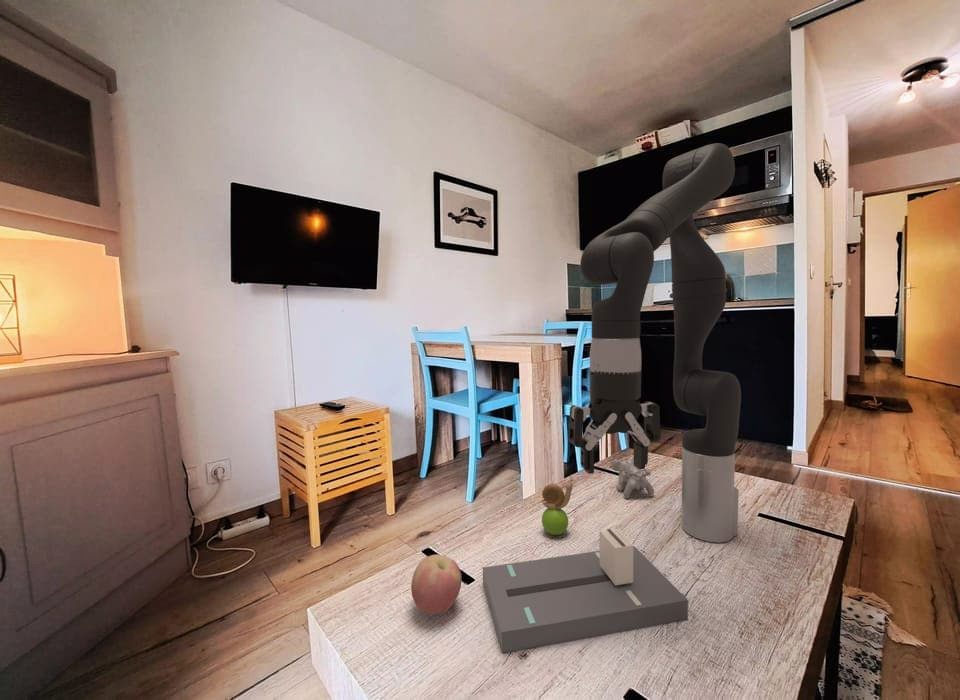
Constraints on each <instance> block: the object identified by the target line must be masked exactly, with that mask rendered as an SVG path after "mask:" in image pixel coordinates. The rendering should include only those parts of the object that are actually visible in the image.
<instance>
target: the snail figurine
mask: <svg viewBox="0 0 960 700" xmlns="http://www.w3.org/2000/svg"><path fill="white" fill-rule="evenodd" d="M569 481H570V482H571V483H570V482H568V483H566V484H565V492H564V490H563V489H562V487H560V486H559V485H557V484H548V485H546V486H544V488H543V489H542V493H541V495H542V498H543V500H544V501H542V502H541V503H542V505H543V506H544V507H545V508H546V509H545V510H544V511H543V513H542V515H541V525H542V527H543V528H544V530H545V531H546V532H547V533H548V534H550V535H552V536H559V535H562V534H564V533H565V532H566V531H567V529H568V526H569V517H568V514H567V513H566V511H565V510H563V509H564V508H565V507H566V506H568V504H569V502H570V499H571V496H572V490H573V487H574V486H573V483H572V482H573V477H569Z"/></svg>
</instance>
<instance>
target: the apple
mask: <svg viewBox="0 0 960 700" xmlns="http://www.w3.org/2000/svg"><path fill="white" fill-rule="evenodd" d="M461 572H462V571H461V569H460V566H459V564H458V563H457V562H456V561H455V560H454V559H452V558H451V557H449V556H445V555H441V554H431V555H428V556H427V557H425V558H423V559H422V560H421V561H420V562H419V563H418V564H417V566H416V567H415V569H414V571H413V574H412V579H411V583H410V584H411V585H410V586H411V587H410V589H411V590H410V591H411V596H412V599H413V602H414V603H415V605H416V607H417V608H418V609H419V610H421V612H423V613H426V614H428V615H429V614H431V615H440V614H443V613H446V612H447V611H449V609H450V608H451V607H452V606H453V604H455V602H456V600H457V598H458V596H459V594H460V591H461V586H462V573H461Z"/></svg>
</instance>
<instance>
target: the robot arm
mask: <svg viewBox="0 0 960 700" xmlns="http://www.w3.org/2000/svg"><path fill="white" fill-rule="evenodd" d="M735 171H736V166H735V159H734V156H733V152H732V151H731V149H730V148H729V146H727V145H726V144H723V143H719V142H715V143H711V144H710V143H709V144H706V145H704V146H702V147H698V148H696V149H692V150H690V151H688V152H685V153H683V154H679V155H678V156H675V157H673V158H671V159H670V160H667V162H666V164H665V165H664V167H663V171H662V190H661V191H660V192H658V193H655V194H654V195H653V196H651V197H649V199H646V200H645V201H644V202H642V203H641V204H640V205H639V206H638V207H637V208H636V209H635V210H634V211H632V212H631V213H630V214H629V215H628V216H627V218H626V219H624V220H623V221H621V222H619V223H618V224H616V225H613V226H612V227H610V228H608V229H607V230H605V231H604V232H602V233H600V234H599V235H598V236H596V237H594V238H593V239H592V240H591V241H589V243H588V244H587V245H586V247H585V248H584V250H583V252H582V254H581V258H580V269H581V270H580V272H581V273H582V275H583V277H584V278H585V279H586V280H587V281H589V282H590V283H591V284H595V285H603V286H604V285H610V284H616V285H615V289H614V291H613V293H612V295H610V296H609V297H607V298H604V299H602V300H598V301H596V302H595V303H594V304H593V306H592V310H591V342H590V348H589V349H590V350H589V398H590V400H589V403H588V406H578V405H574V404H572V405H570V408H569V420H568V421H569V423H568V438H567V439H568V440H567V441H568V442H569V443H570V444H571V445H573V446H574V447H576V448H580V467H582V469H583V470H584V471H585V472H586V473H587V474H589V475H590V474H591V475H592V474H594V472H595V450H594V449H593V448H594V447H595V445H596V444H597V443H598V441H599V440H601V439H603V437H604V436H605V434H607V435H613V434H616V433H619V434H620V433H621V434H627V433H628V434H630V435H631V437H632V439H633V440H634V441H635V442H633V458H632V459H633V463H634V466H635V467H637V468H638V469H641V470H644V469H646V466H647V465H648V463H649V446H650V445H651V444H652V443H654V442H657V443H658V442H660V440H661V417H660V414H661V413H660V412H661V411H660V410H661V409H660V405H659V404H657V403H655V402H652V401H644V402H643V403H641V402H640V398H641V395H642V347H641V338H640V337H641V336H640V335H641V332H640V331H641V312H642V311H641V310H642V306H643V303H644V300H645V295H646V291H647V288H648V285H649V283H650V282H649V281H650V279H651V275H652V272H653V268H654V263H655V255H654V254H655V253H654V252H655V251H657V250H658V249H659V248H660V247H661V246H662V245H663V244H664V243H665V242H666V240H667V239H669V245H670V261H671V262H670V264H671V283H672V284H671V293H672V305H673V307H672V308H673V319H674V320H673V321H674V359H673V376H672V377H673V379H672V389H673V390H672V392H673V397H674V401H675V404H676V406H677V408H678V409H680V410H681V411H682V412H686V413H690V414H693V415H697V416H703V417H706V423H705V427H704V428H694V429H689V430H687V431H685V432H683V434H682V439H681V440H682V441H681V442H682V445H681V452H682V453H681V519H680V520H681V528H682V529H683V531H684V532H685V533H687V534H688V535H689V536H691V537H693V538H695V539H698V540H702V541H706V542H710V543H726V542H730V541H732V540H733V538H734V537H736V536H738V534H739V533H738V531H739V530H738V529H739V489H738V488H737V487H735V469H736V467H735V465H736V462H735V461H736V460H735V459H736V458H735V457H736V445H737V444H736V443H737V441H738V436H739V429H740V424H739V423H740V415H741V404H742V391H741V390H742V389H741V384H740V382H739V379H738V378H737V376H736V375H735V374H733V373H732V372H728V371H718V370H712V369H710V370H709V369H703V351H704V345H705V342H706V340H707V338H708V336H709V335H710V333H711V331H712V330H713V328H714V326H715V325H716V323H717V322H718V321H719V319H720V317H721V315H722V313H723V312H724V309H725V307H726V303H727V285H726V283H727V282H726V281H727V280H726V279H727V278H726V269H725V265H724V264H723V262H722V261H721V260H722V259H720V257H719V256H718V255H717V253H716V252H715V251H714V250H713V249H712V246H710V245H709V244H708V243H707V241H705V239H704V237H702V235H701V234H700V232H699V230H698V228H697V226H696V223H695V219H694V214H696V213H697V212H698V211H700V210H701V208H703V207H705V206H706V205H707V204H709V203H710V202H711V201H713V200H714V199H716V198H717V197H719V196H721V195H722V194H724V193H725V192H726V191H728V189H729V188H730V187H731V185H732V183H733V181H734V178H735V173H736V172H735ZM641 414H642V416H643V428H642V426H641V425H640V423H638V421H637V420H638V418H639V417H640V416H641ZM588 415H589V417H590V419H591V420H590V422H589V423H588V425H587V426H586V427H585V432H584V434H583V429H584V422H585V421H586V420H587V416H588Z"/></svg>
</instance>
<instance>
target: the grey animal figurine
mask: <svg viewBox="0 0 960 700" xmlns="http://www.w3.org/2000/svg"><path fill="white" fill-rule="evenodd" d="M633 459H634V458H632V459H629V458H628V459H623V460H620V459H619V460H618V459H615V460H613V461H612V463H611V468H612V470H613V471H614V472H618V485H616V490H617V491H619V492H622V491H623V494H622V495H623V497H624V498H625V499H629V498H630V497H631V493H632V491H633V490H637V492H639V491H640V490H644V489H645V490H646V492H647V494H648V495H649V496H651V497H652V496H654V494H655V489H654V488H653V486H652V484H651V482H650V481H649V480H648V478H646V476H647V477H648V476H651V474H652V473H651V471H650V469H648V468H645V469H638V468H637V467H635V466H634V463H633Z"/></svg>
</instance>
